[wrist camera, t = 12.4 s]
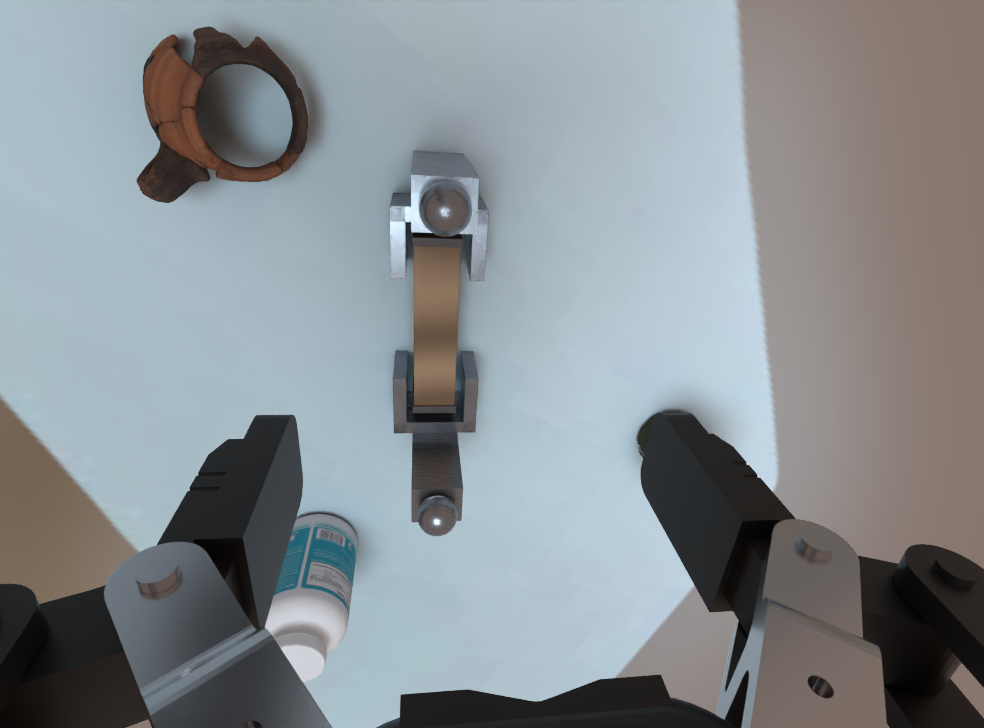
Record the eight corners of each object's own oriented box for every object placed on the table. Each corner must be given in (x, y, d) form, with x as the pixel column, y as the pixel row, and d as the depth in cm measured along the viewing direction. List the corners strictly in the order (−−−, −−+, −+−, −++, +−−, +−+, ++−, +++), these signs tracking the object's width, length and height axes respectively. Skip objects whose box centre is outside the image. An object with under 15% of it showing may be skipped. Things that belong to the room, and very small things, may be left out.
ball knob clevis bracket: (392, 149, 39) (378, 180, 26) (483, 155, 40) (513, 187, 27) (396, 429, 50) (388, 548, 37) (468, 428, 50) (484, 544, 38)
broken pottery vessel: (181, -15, 34) (215, -14, 28) (305, 95, 41) (352, 112, 35) (77, 147, 34) (91, 178, 29) (217, 227, 41) (250, 264, 36)
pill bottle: (289, 568, 56) (253, 699, 44) (275, 513, 52) (232, 639, 40) (363, 561, 56) (347, 688, 44) (354, 506, 53) (335, 628, 41)
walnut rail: (413, 220, 41) (412, 237, 37) (457, 222, 42) (462, 239, 37) (413, 381, 47) (412, 413, 43) (452, 381, 48) (455, 412, 43)
